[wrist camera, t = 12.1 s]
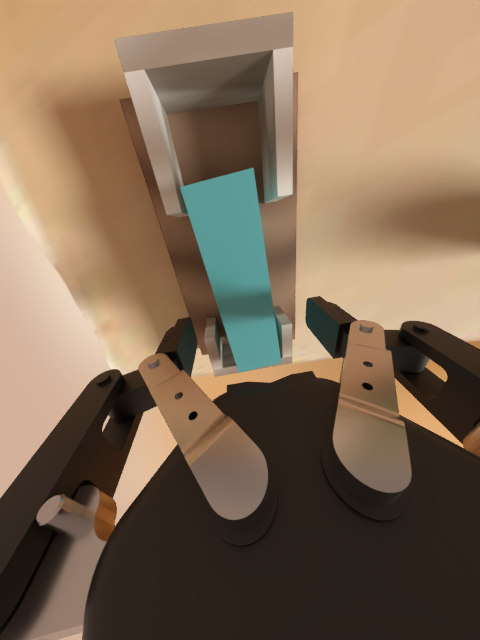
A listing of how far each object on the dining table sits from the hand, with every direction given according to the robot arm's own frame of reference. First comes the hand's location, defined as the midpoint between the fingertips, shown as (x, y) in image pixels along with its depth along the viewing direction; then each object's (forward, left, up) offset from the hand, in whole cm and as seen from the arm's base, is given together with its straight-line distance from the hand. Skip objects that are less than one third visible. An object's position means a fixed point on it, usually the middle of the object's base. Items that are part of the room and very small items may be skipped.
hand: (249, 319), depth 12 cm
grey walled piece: (-3, 0, -9) cm, 9 cm away
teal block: (-1, 0, -7) cm, 7 cm away
